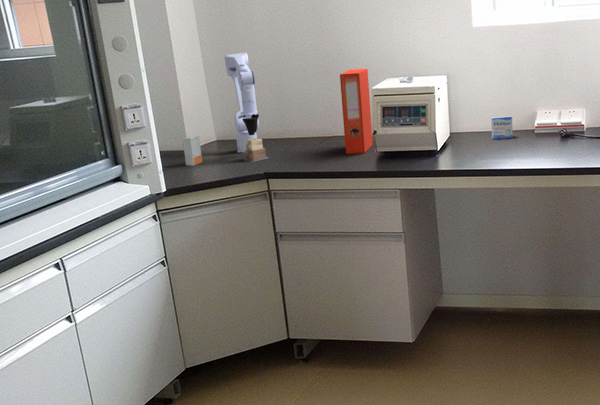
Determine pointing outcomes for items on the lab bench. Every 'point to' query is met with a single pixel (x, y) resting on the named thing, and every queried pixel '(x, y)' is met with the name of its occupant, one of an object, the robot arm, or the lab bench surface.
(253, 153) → the base block
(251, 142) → the maple block
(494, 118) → the medicine box
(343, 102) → the file binder
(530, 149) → the lab bench surface
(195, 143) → the skincare box
